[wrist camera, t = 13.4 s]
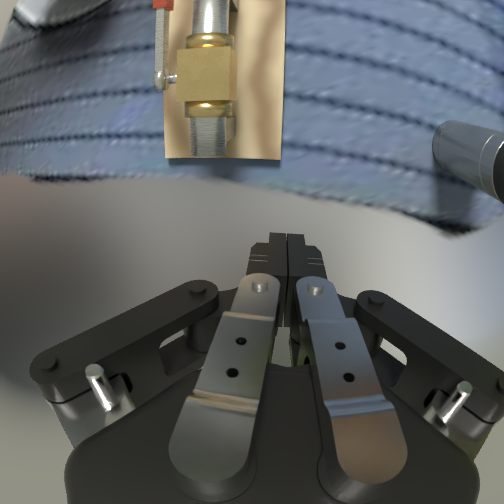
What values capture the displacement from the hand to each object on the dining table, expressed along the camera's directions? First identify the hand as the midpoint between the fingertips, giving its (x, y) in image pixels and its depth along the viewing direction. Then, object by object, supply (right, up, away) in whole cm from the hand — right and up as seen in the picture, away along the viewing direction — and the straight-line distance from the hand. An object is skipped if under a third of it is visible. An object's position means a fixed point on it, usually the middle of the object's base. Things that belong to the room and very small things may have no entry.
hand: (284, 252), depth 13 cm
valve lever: (-13, +20, +19) cm, 30 cm away
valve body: (-7, +28, +24) cm, 37 cm away
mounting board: (-6, +28, +25) cm, 38 cm away
